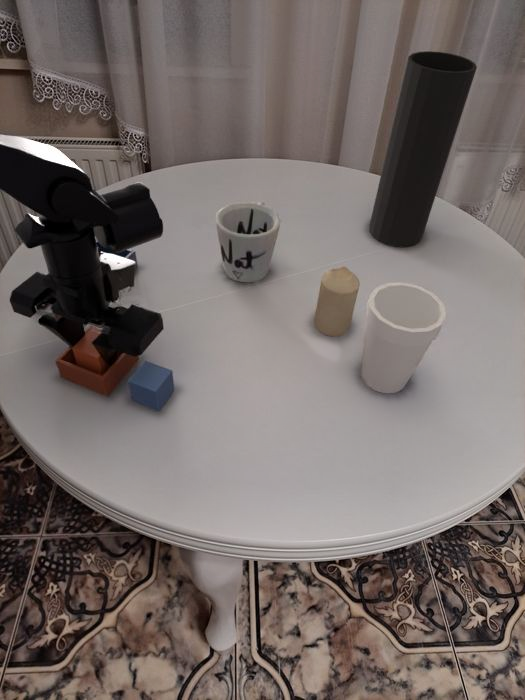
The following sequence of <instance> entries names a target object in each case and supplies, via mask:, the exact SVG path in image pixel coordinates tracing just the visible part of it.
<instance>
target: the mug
mask: <svg viewBox="0 0 525 700" xmlns="http://www.w3.org/2000/svg"><path fill="white" fill-rule="evenodd" d="M265 204H266V203H264V202H263V201H258V202H249V201H245V202H235V203H230V204H228V205H225V206H224V207H222V208H220V209H219V210H218V211H217V212H216V214H215V217H214V223H215V227H216V232H217V238H218V244H219V249H220V254H221V260H222V265H223V270H224V273H225V274H226V276H227V277H229V278H230V279H231V280H233V281H236V282H240V283H254V282H257V281H260V280H262V279H263V278H265V277H266V275H267V274H268V273H269V270H270V269H269V268H270V265H271V261H272V257H273V254H274V250H275V246H276V243H277V239H278V235H279V231H280V227H281V221H282V220H281V218H280V215H279V214H278V212H276V211H275V210H274V209H273V208H271V207H269V206H268V205H265Z"/></svg>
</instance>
